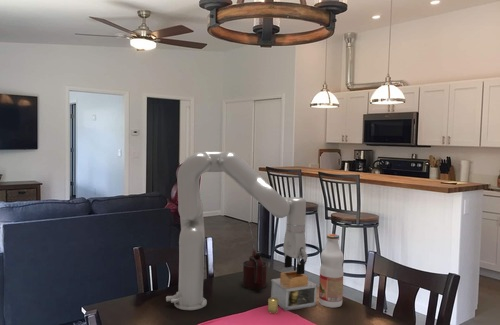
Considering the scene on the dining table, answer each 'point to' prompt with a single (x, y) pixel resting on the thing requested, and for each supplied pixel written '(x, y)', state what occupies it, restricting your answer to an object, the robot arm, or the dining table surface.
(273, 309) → the brass pellet
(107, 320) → the dining table surface
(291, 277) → the translucent plastic box
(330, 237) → the fruit juice
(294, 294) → the brass pellet
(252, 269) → the oil can
